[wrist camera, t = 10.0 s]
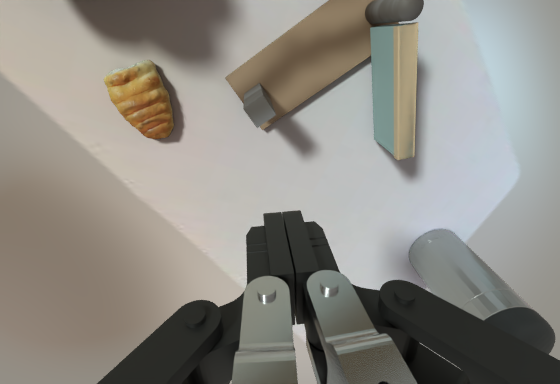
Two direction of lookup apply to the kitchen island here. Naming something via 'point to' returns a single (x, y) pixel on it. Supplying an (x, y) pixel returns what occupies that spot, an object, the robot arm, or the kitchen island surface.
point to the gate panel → (394, 86)
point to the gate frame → (313, 55)
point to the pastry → (142, 98)
